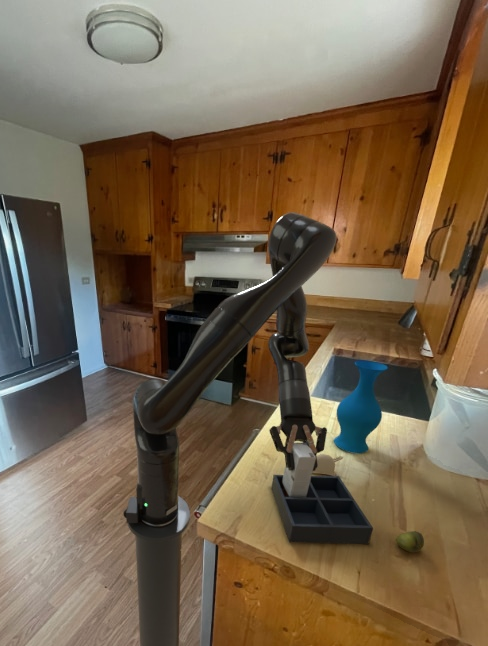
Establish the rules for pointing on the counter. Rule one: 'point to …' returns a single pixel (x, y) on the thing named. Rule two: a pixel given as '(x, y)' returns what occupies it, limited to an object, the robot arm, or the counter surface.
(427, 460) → the counter surface
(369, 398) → the vase
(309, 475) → the cosmetic box
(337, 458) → the decorative ornament
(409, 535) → the lime
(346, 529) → the grid
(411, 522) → the counter surface
